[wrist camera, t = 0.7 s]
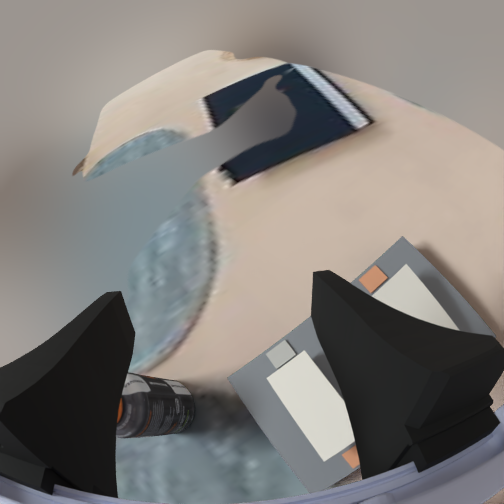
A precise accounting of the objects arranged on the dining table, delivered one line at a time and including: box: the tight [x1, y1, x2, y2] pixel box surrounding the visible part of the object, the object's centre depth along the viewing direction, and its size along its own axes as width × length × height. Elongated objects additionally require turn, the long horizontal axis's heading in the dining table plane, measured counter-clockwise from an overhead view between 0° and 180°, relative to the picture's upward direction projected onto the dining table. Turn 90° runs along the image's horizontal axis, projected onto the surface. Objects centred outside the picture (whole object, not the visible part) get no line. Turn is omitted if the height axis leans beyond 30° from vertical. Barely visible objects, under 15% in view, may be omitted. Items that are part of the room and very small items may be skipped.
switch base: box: [228, 236, 496, 493], centre depth 22 cm, size 13×20×4 cm, turn 124°
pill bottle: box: [116, 373, 195, 438], centre depth 22 cm, size 6×6×11 cm
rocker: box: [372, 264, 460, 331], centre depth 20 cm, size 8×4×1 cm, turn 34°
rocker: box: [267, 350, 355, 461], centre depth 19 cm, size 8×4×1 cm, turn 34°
